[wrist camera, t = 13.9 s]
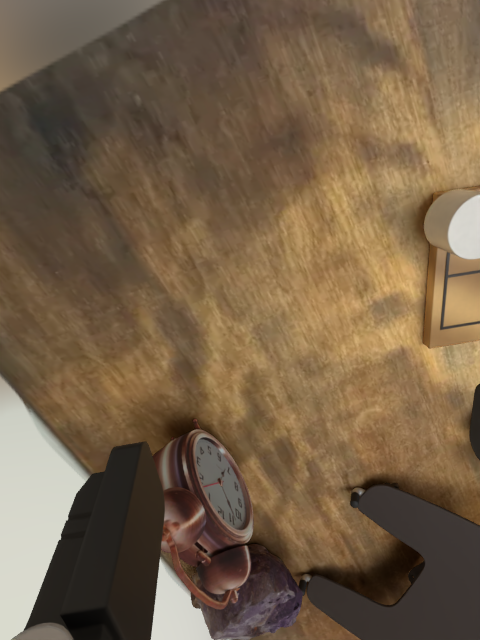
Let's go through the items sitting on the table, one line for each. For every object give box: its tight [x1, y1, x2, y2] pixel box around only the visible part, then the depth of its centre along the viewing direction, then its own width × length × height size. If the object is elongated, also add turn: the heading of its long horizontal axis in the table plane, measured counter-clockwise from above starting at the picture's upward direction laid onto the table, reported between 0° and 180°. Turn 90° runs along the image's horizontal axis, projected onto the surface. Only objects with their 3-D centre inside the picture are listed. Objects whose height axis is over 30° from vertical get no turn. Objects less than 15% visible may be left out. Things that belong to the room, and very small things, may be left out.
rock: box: [191, 544, 303, 640], centre depth 43 cm, size 12×9×10 cm
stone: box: [424, 189, 480, 260], centre depth 29 cm, size 5×5×3 cm
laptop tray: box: [299, 483, 480, 640], centre depth 46 cm, size 23×23×9 cm
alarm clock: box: [153, 419, 254, 610], centre depth 33 cm, size 11×5×15 cm, turn 34°
